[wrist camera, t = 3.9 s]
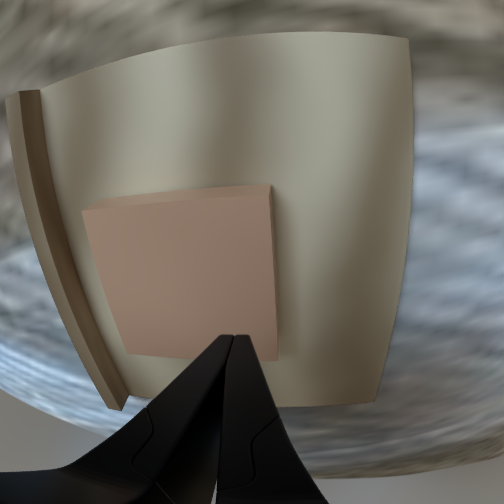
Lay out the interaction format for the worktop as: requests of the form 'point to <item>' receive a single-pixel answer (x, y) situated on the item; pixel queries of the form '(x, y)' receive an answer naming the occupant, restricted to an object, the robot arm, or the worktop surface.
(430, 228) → the worktop surface
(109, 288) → the tile
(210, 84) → the board
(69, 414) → the worktop surface
